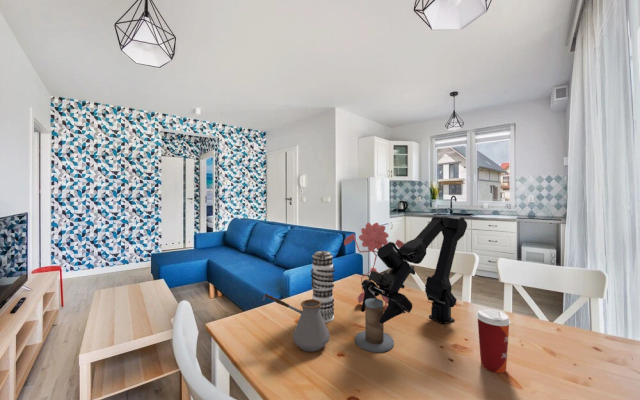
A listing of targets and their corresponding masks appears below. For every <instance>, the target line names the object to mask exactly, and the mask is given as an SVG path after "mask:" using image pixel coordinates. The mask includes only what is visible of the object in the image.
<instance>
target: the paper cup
mask: <svg viewBox="0 0 640 400" xmlns="http://www.w3.org/2000/svg"><path fill="white" fill-rule="evenodd" d="M475 317H476V318H477V329H478V342H479V345H478V346H479V354H480V355H479V357H480V365H481V366H482V367H483V368H484V369H485V370H487V371H488V372H492V373H495V374H504V373H506V370H507V364H508V361H507V360H508V348H509V347H508V346H509V335H510V334H509V330H510V325H511V320H510V318H509V316H508V315H507V314H506V313H504V312H502V311H500V310H499V311H498V310H495V309H488V308H484V309H479V310H478V311H477V314H476V315H475Z"/></svg>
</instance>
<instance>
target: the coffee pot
mask: <svg viewBox="0 0 640 400" xmlns="http://www.w3.org/2000/svg"><path fill="white" fill-rule="evenodd" d="M266 298H269V300H270V301H273V302H275V303H276V304H278V305H281V306H284V307H285V308H288V309H290V310H292V311H295V312H296V313H298V314H300V316H299V319H298V321H297V324H296V326H295V328H294V330H293V333H292V339H293V342H294V344H295V345H296V346H297V347H299V348H300V349H301V350H302V351H304V352H311V353H312V352H317V351H319V350H321V349H323V348H324V347H325V345H327V343H328V341H329V339H330V331H329V329H328V326H327V323H325V322H324V320H323V317H322V315H321V313H320V310H319V308H320V306H321V302H320V301H318V300H315V299H310V298H309V299H305V300H303V301H301V302H300V307H302V310H301V309H299V308H297V307H295V306H292V305H290V304H289V303H286V302H285V301H284V300H282V299H279V298H277V297H274V296H273V295H269V294H267V293H265V294H264V295H263V298H262V301H264V300H265V299H266Z"/></svg>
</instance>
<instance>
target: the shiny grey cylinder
mask: <svg viewBox="0 0 640 400" xmlns="http://www.w3.org/2000/svg"><path fill="white" fill-rule="evenodd" d="M376 298H377V297H376ZM376 298H370V299H366V300H365V311H364V312H365V313H364V317H365V319H364V320H365V324H364V325H365V326H364V327H365V330H364V331H365V339H366V341H367V342H368V343H371V344H381V343H383V341H384V338H383V332H384V323H383V324H381V323H380V322H379V321H380V319H381V317H382V315H383V313H384V300H383V299H381V298H380V299H379V298H377V299H376Z"/></svg>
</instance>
